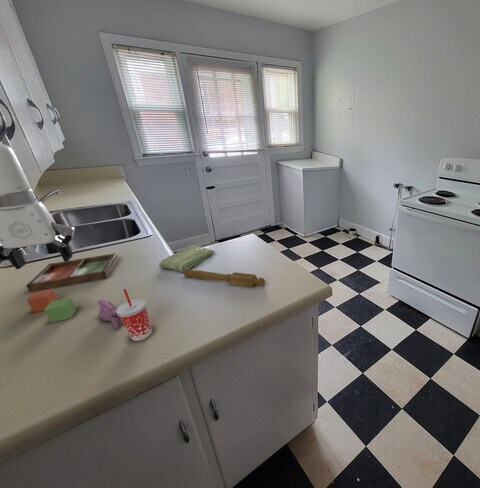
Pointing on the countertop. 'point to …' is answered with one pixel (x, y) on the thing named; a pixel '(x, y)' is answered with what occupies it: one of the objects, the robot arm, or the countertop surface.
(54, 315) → the green block
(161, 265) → the washcloth
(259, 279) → the tap handle
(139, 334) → the beverage cup
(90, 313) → the countertop surface
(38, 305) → the terracotta block
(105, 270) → the tray
